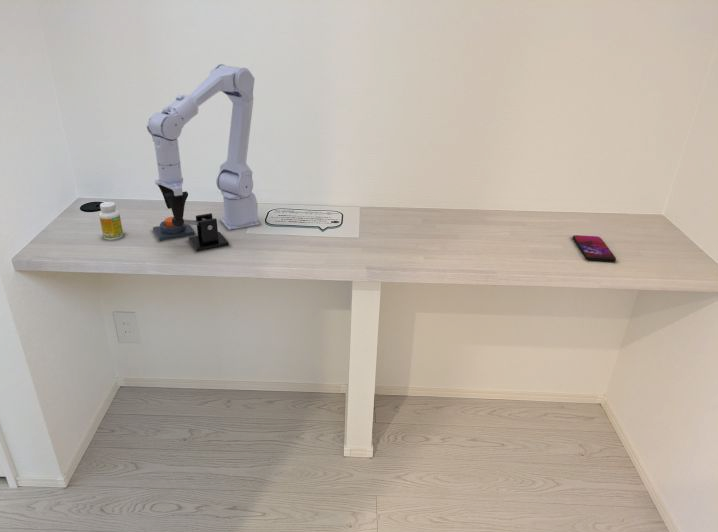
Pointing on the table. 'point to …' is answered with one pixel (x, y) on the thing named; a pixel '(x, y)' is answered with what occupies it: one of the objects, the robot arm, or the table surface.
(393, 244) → the table surface
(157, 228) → the button box
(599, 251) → the smartphone
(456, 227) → the table surface
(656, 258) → the table surface
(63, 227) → the table surface
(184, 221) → the switch lever
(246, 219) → the robot arm
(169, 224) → the button
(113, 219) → the supplement bottle
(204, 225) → the switch bracket
